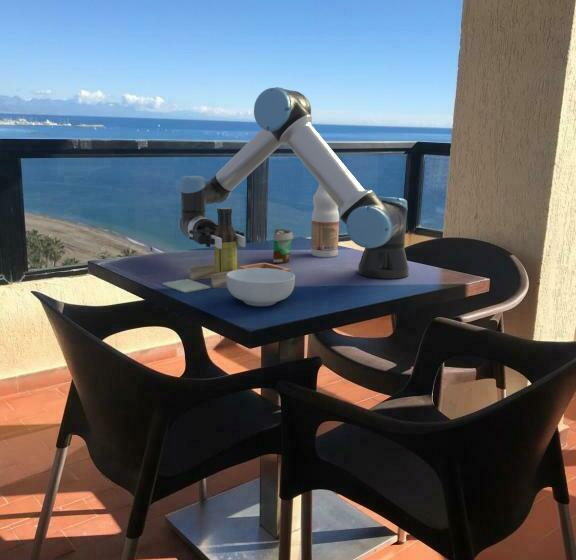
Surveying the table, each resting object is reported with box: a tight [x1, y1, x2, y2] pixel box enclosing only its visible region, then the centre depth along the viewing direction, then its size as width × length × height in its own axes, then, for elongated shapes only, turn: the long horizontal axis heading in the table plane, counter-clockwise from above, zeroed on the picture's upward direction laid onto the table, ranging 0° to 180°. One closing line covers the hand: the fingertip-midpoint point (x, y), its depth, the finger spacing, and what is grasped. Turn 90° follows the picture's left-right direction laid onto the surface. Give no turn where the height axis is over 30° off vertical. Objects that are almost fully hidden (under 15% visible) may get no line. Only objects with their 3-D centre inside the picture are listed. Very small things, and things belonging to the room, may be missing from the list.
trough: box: [189, 260, 261, 289], centre depth 169 cm, size 12×16×4 cm
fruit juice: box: [310, 183, 340, 258], centre depth 205 cm, size 9×9×28 cm
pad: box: [162, 278, 211, 293], centre depth 161 cm, size 11×8×1 cm
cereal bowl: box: [226, 268, 296, 307], centre depth 147 cm, size 17×17×7 cm
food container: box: [272, 228, 294, 265], centre depth 194 cm, size 12×6×10 cm, turn 179°
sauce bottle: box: [213, 207, 238, 273], centre depth 167 cm, size 6×6×20 cm
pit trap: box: [238, 262, 292, 273], centre depth 179 cm, size 12×10×2 cm
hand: (232, 242), depth 162 cm, fingers closed on sauce bottle, 6 cm apart
